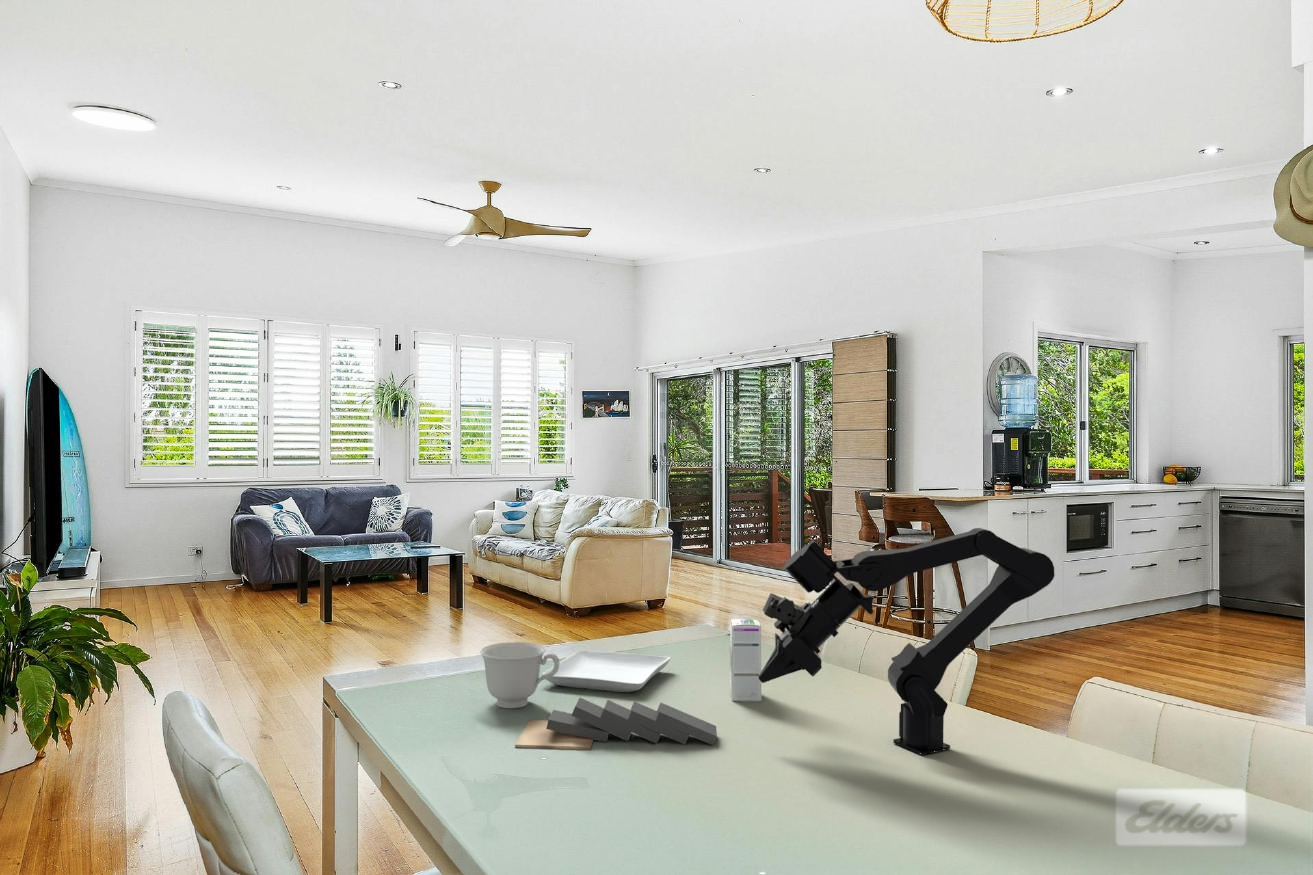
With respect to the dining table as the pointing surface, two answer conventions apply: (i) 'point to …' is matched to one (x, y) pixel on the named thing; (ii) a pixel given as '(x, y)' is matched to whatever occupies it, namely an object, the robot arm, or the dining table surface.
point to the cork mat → (550, 738)
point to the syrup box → (745, 659)
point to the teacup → (515, 671)
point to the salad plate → (607, 670)
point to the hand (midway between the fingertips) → (760, 680)
